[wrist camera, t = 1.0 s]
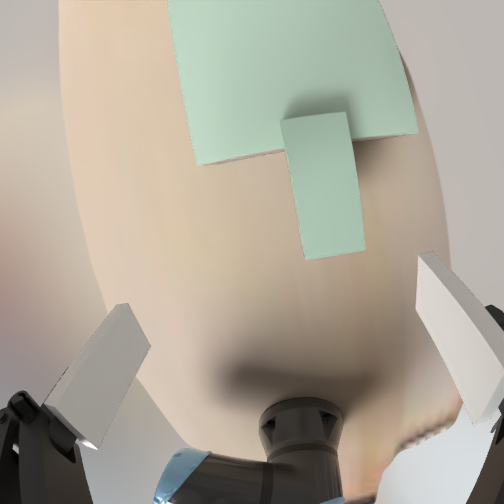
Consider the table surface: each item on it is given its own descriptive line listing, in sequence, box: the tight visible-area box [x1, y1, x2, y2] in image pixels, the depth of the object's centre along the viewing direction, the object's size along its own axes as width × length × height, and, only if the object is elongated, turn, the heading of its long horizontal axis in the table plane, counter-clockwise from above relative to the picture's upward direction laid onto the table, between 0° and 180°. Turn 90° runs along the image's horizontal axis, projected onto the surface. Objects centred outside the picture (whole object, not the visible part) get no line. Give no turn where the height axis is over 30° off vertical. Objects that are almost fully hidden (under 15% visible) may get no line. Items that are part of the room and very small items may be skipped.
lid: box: [167, 0, 419, 260], centre depth 21 cm, size 27×20×5 cm
